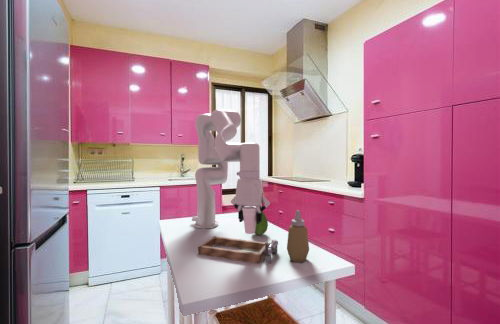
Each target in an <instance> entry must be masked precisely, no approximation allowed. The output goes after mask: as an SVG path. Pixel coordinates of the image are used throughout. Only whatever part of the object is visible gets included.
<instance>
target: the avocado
mask: <svg viewBox="0 0 500 324" xmlns="http://www.w3.org/2000/svg"><path fill="white" fill-rule="evenodd" d="M257 213H258V212H257ZM268 226H269V222H268V219H267V217H266V214H265V213H264V210H263V211H262V221H261V222H260V223H259V224H257V223H256V227H255V233H254V234H255V235H256V236H262V235H264V234H265V233H266V232H267V230H268Z"/></svg>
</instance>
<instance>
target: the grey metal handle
mask: <svg viewBox="0 0 500 324" xmlns="http://www.w3.org/2000/svg"><path fill="white" fill-rule="evenodd" d="M268 243H270V245H269V246H268ZM278 245H279V241H278V239H272V240H271V242H268V241H265V251H264V254H265V257H264V263H265V264H271V263H272V254H275V255H277V254H278Z"/></svg>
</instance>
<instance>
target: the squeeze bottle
mask: <svg viewBox="0 0 500 324" xmlns="http://www.w3.org/2000/svg"><path fill="white" fill-rule="evenodd" d="M286 250H287V251H286V252H287V253H288V256H289V259H290V260H291V261H292V262H295V263H302V262H305V261H306V260H307V257H308V255H309V251H310V245H309V235H308V227H307V226H305V219H303V218H302V214H301V210H300V209H296V210H295V215H294V218H292V219H291V224H290V225H289V226H288V233H287V243H286Z"/></svg>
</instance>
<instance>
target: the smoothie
mask: <svg viewBox="0 0 500 324" xmlns="http://www.w3.org/2000/svg"><path fill="white" fill-rule="evenodd" d="M242 211H243V218H244V220H243V224H244V233H245V234H247V235H251V234H252V235H253V234H255V227H256V214H257V209H256V206H243V207H242Z"/></svg>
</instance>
